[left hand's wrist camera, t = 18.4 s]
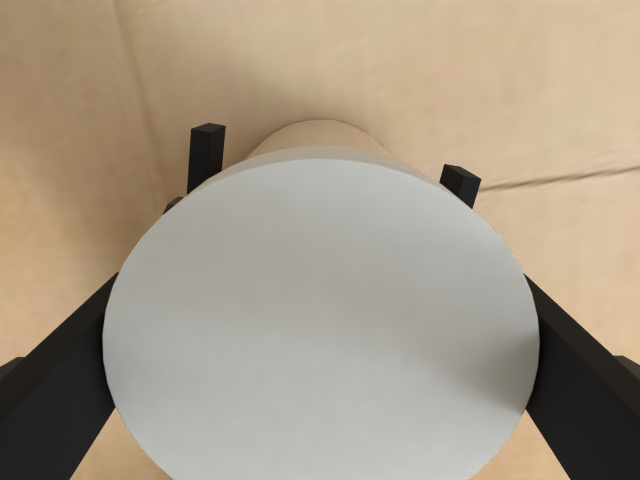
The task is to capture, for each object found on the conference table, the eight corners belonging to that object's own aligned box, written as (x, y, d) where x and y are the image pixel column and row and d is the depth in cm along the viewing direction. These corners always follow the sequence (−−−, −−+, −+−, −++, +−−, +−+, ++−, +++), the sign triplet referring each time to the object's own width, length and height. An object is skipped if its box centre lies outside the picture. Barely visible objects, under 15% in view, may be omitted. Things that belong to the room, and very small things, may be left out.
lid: (246, 508, 15) (236, 569, 13) (57, 249, 11) (7, 281, 10) (548, 403, 13) (585, 455, 11) (430, 68, 10) (457, 65, 8)
